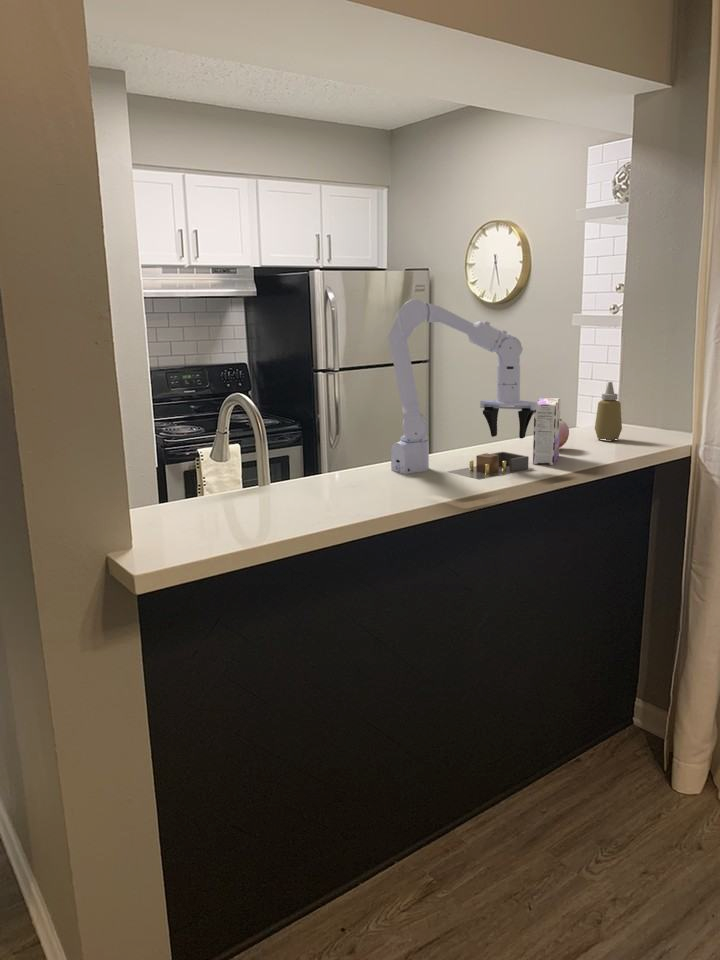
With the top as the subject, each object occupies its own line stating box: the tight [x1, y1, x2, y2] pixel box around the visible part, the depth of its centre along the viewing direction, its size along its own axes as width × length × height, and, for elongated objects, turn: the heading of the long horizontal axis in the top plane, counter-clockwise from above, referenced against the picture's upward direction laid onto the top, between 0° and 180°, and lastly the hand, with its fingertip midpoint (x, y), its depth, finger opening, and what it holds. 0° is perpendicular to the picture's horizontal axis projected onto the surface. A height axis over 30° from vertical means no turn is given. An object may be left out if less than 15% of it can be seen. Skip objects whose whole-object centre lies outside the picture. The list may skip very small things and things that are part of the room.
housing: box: [491, 451, 529, 471], centre depth 201 cm, size 6×9×3 cm, turn 34°
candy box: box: [532, 397, 561, 466], centre depth 213 cm, size 14×6×16 cm, turn 161°
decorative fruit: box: [559, 418, 570, 449], centre depth 228 cm, size 9×8×10 cm
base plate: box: [446, 460, 535, 480], centre depth 198 cm, size 19×12×4 cm, turn 124°
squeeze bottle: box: [594, 381, 623, 440], centre depth 240 cm, size 8×8×18 cm
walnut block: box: [475, 452, 499, 473], centre depth 197 cm, size 4×4×4 cm
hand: (508, 437), depth 199 cm, fingers open, 7 cm apart
